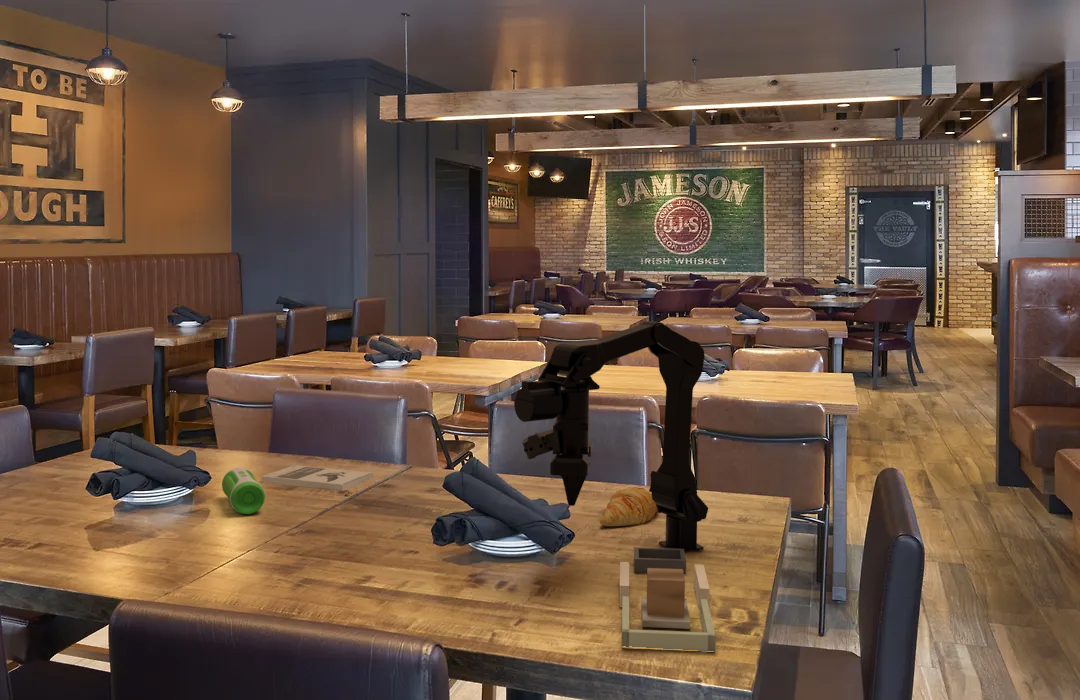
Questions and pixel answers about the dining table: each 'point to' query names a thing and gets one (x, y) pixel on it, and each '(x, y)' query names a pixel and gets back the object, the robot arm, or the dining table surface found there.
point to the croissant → (629, 508)
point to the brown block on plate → (665, 599)
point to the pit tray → (658, 559)
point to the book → (317, 477)
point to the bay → (670, 633)
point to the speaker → (243, 491)
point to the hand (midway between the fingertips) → (571, 505)
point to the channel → (699, 582)
